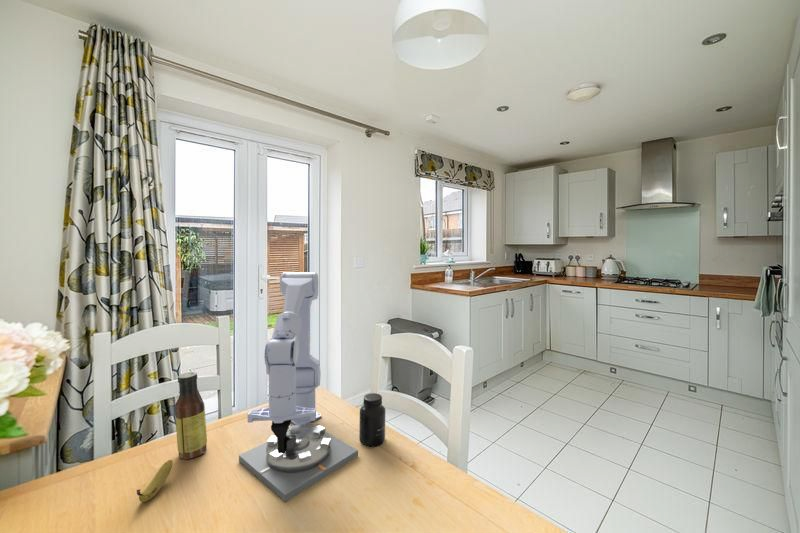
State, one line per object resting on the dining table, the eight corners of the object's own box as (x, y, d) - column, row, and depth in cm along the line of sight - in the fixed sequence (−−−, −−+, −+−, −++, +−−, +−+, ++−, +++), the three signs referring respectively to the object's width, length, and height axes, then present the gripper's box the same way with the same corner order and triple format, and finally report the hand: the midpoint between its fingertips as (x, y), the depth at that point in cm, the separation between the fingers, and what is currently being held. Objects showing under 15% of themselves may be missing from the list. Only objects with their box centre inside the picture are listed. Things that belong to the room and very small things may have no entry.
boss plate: (239, 461, 83) (238, 454, 83) (309, 427, 98) (309, 421, 98) (285, 502, 70) (285, 494, 70) (358, 455, 85) (358, 449, 85)
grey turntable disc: (281, 433, 92) (281, 408, 91) (337, 435, 91) (337, 410, 90) (254, 470, 77) (253, 441, 76) (321, 473, 76) (320, 444, 76)
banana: (166, 475, 78) (165, 458, 77) (177, 475, 78) (176, 458, 77) (131, 510, 67) (130, 490, 67) (144, 510, 67) (143, 491, 67)
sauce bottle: (212, 446, 89) (210, 370, 87) (195, 461, 82) (193, 380, 81) (188, 444, 89) (186, 369, 88) (170, 459, 83) (167, 378, 82)
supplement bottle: (384, 448, 88) (384, 403, 88) (357, 448, 89) (357, 402, 88) (386, 433, 95) (386, 391, 94) (361, 433, 95) (361, 391, 95)
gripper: (242, 401, 73) (243, 463, 73) (312, 399, 74) (312, 460, 75) (253, 387, 80) (254, 444, 80) (317, 385, 81) (317, 441, 82)
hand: (282, 450), depth 78 cm, fingers closed, pressing on grey turntable disc
